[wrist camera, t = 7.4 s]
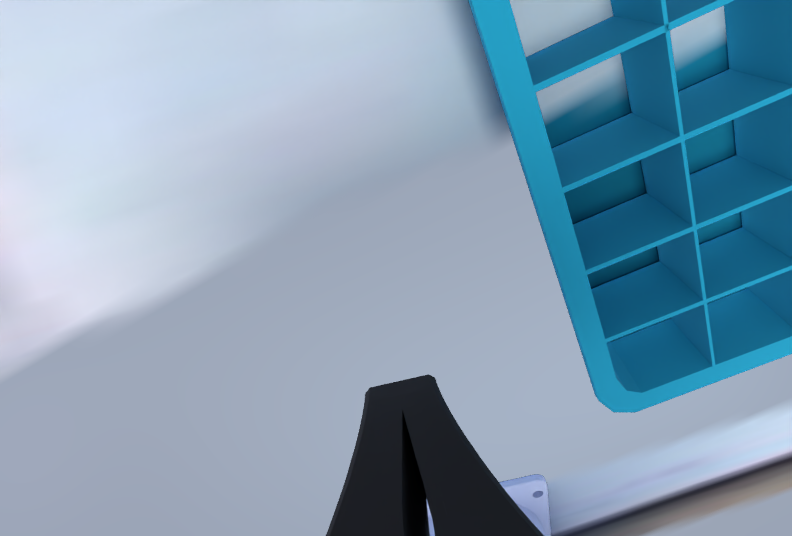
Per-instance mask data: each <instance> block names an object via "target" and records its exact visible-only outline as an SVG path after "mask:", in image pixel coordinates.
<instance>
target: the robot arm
mask: <svg viewBox="0 0 792 536" xmlns="http://www.w3.org/2000/svg"><path fill="white" fill-rule="evenodd" d="M326 536H551V528H550V515H549V501H548V488H547V483H546V480H545V478H544V476H542V475H539V474H535V475H530V476H525V477H521V478H516V479H512V480H507V481H503V482H498V481H497V479H496V478H495V477H494V476H493V474H492V473H491V472H490V470H489V469H488V468H487V466H486V465H485V463H484V462H483V461H482V459H481V458H480V457H479V455H478V454H477V452H476V451H475V449H474V448H473V446H472V445H471V444H470V442H469V441H468V439H467V438H466V436H465V435H464V433H463V432H462V430H461V429H460V427H459V426H458V424H457V422H456V420H455V419H454V417H453V415H452V414H451V412H450V410H449V408H448V406H447V405H446V403H445V401H444V399H443V397H442V395H441V393H440V390H439V388H438V386H437V383H436V380H435V378H434V377H432V376H430V375H425V376H420V377H416V378H411V379H407V380H403V381H398V382H393V383H389V384H384V385H380V386H376V387H371V388H369V390H368V391H367V392H366V394H365V403H364V409H363V415H362V420H361V425H360V429H359V433H358V438H357V441H356V446H355V449H354V453H353V456H352V460H351V463H350V467H349V470H348V474H347V477H346V480H345V483H344V487H343V490H342V493H341V495H340V498H339V501H338V504H337V507H336V510H335V512H334V515H333V518H332V521H331V524H330V527H329V529H328V532H327V534H326Z"/></svg>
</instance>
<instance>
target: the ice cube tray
mask: <svg viewBox="0 0 792 536" xmlns="http://www.w3.org/2000/svg"><path fill="white" fill-rule="evenodd" d="M468 1H469V4H470V7H471V10H472V14H473V17H474V20H475V23H476V26H477V29H478V32H479V35H480V38H481V41H482V45H483V48H484V51H485V54H486V57H487V60H488V63H489V66H490V69H491V73H492V76H493V79H494V82H495V85H496V88H497V91H498V94H499V97H500V101H501V104H502V107H503V110H504V113H505V116H506V119H507V122H508V125H509V129H510V132H511V135H512V138H513V141H514V144H515V147H516V150H517V153H518V156H519V160H520V162H521V166H522V169H523V172H524V175H525V178H526V181H527V184H528V188H529V191H530V194H531V197H532V200H533V203H534V206H535V209H536V212H537V216H538V218H539V221H540V225H541V228H542V231H543V234H544V237H545V240H546V243H547V247H548V250H549V253H550V256H551V259H552V262H553V265H554V268H555V272H556V275H557V278H558V281H559V284H560V287H561V290H562V293H563V296H564V299H565V302H566V306H567V309H568V312H569V315H570V318H571V321H572V324H573V327H574V331H575V333H576V337H577V340H578V343H579V346H580V349H581V352H582V355H583V359H584V362H585V365H586V368H587V371H588V374H589V377H590V380H591V383H592V387H593V390H594V393H595V395H596V397H597V398H598V400H599V401H600V402H601V403H602V404H604V405H605V406H606V407H607V408H609V409H610V410H611V411H613V412H638V411H640V410H643V409H645V408H648V407H651V406H654V405H656V404H659V403H661V402H664V401H667V400H670V399H672V398H675V397H677V396H680V395H683V394H686V393H688V392H691V391H693V390H696V389H699V388H701V387H704V386H707V385H709V384H712V383H715V382H718V381H720V380H723V379H726V378H728V377H731V376H734V375H736V374H739V373H742V372H745V371H747V370H750V369H753V368H755V367H758V366H760V365H763V364H766V363H768V362H771V361H774V360H777V359H779V358H782V357H785V356H787V355H790V354H792V0H611V5H612V11H613V17H611V18H608V19H606V20H604V21H602V22H600V23H598V24H596V25H594V26H591V27H589V28H587V29H585V30H583V31H581V32H579V33H577V34H575V35H572V36H570V37H568V38H566V39H564V40H562V41H560V42H558V43H556V44H553V45H551V46H549V47H547V48H545V49H543V50H541V51H539V52H537V53H534V54H532V55H530V56H528V57H526V58H525V54H524V51H523V47H522V43H521V40H520V36H519V33H518V29H517V26H516V22H515V19H514V15H513V12H512V8H511V5H510V1H509V0H468ZM723 5H724V11H725V23H726V33H725V34H723V35H721V36H719V37H717V38H716V39H714V40H711V41H709V42H707V43H705V44H703V45H701V46H699V47H697V48H695V49H693V50H691V51H688V52H686V53H684V54H682V55H679V56H677V57H675V58H673V51H672V44H671V37H670V30H671V29H673V28H676V27H678V26H680V25H682V24H684V23H686V22H689V21H691V20H693V19H695V18H697V17H699V16H702V15H704V14H706V13H708V12H710V11H712V10H715V9H717V8H719V7H721V6H723ZM619 53H621V58H622V64H623V69H624V74H625V76H624V77H622V78H619V79H617V80H615V81H613V82H611V83H608V84H606V85H604V86H602V87H600V88H598V89H596V90H594V91H592V92H590V93H588V94H586V95H584V96H582V97H580V98H578V99H576V100H574V101H572V102H570V103H568V104H566V105H564V106H562V107H561V108H559V109H557V110H555V111H553V112H551V113H549V114H547V115H545V116H543V117H542V114H541V111H540V107H539V104H538V100H537V96H536V93H535V92H537V91H539V90H542V89H544V88H546V87H548V86H550V85H552V84H555V83H557V82H559V81H561V80H563V79H565V78H568V77H570V76H572V75H574V74H576V73H578V72H581V71H583V70H585V69H587V68H589V67H591V66H593V65H596V64H598V63H600V62H602V61H604V60H606V59H609V58H611V57H613V56H615V55H617V54H619Z"/></svg>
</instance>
